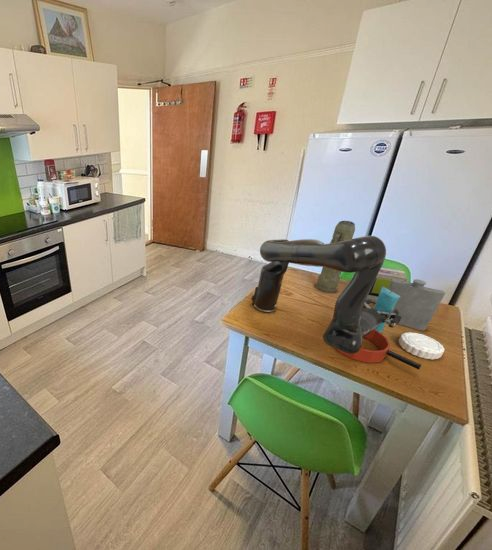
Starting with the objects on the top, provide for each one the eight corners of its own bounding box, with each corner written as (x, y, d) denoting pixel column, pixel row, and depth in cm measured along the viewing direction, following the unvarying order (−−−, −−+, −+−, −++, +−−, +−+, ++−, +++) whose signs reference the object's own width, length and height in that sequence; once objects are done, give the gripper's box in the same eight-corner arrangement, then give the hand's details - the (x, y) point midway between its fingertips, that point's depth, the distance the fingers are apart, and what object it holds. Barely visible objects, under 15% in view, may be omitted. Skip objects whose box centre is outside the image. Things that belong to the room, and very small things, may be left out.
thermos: (340, 287, 151) (363, 221, 135) (330, 295, 145) (353, 227, 129) (321, 281, 157) (341, 217, 141) (311, 288, 151) (331, 222, 135)
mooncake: (398, 334, 118) (401, 327, 116) (439, 346, 111) (443, 339, 110) (397, 350, 110) (401, 343, 108) (442, 365, 103) (447, 357, 102)
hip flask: (425, 327, 121) (448, 285, 112) (424, 332, 119) (448, 289, 109) (377, 312, 131) (394, 273, 122) (375, 316, 129) (393, 276, 119)
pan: (320, 342, 115) (324, 332, 113) (341, 326, 123) (345, 316, 121) (406, 386, 95) (412, 375, 93) (424, 364, 104) (430, 353, 101)
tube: (386, 336, 117) (406, 295, 108) (376, 338, 116) (395, 297, 107) (368, 325, 124) (386, 285, 115) (359, 327, 123) (375, 287, 114)
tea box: (392, 297, 142) (404, 269, 135) (395, 307, 134) (409, 279, 127) (354, 289, 149) (364, 263, 142) (355, 299, 141) (366, 271, 134)
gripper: (392, 322, 98) (409, 306, 106) (344, 304, 109) (363, 290, 117) (383, 340, 102) (401, 323, 110) (338, 320, 112) (357, 306, 120)
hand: (382, 306), depth 113 cm, fingers open, 8 cm apart
